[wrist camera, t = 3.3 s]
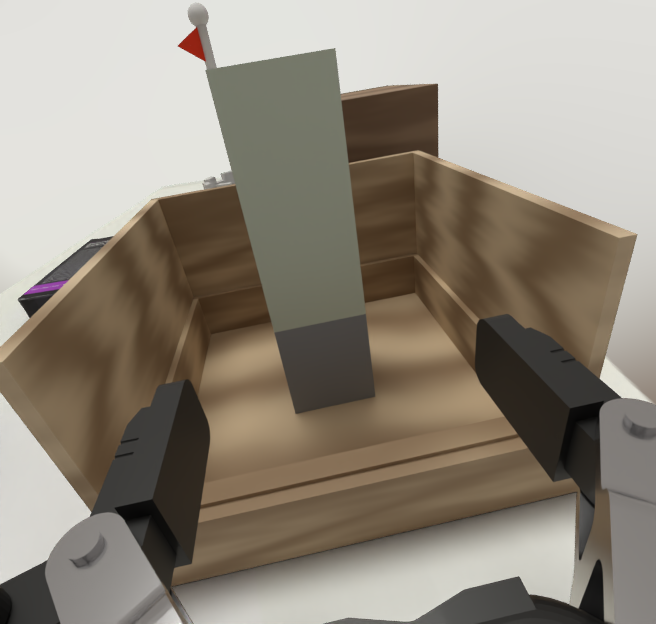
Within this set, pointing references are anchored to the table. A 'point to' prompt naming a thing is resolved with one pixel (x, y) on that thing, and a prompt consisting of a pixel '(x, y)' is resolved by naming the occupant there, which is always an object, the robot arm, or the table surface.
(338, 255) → the box
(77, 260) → the box
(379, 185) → the wooden open bin
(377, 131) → the riser
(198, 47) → the flag stand
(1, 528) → the table surface
